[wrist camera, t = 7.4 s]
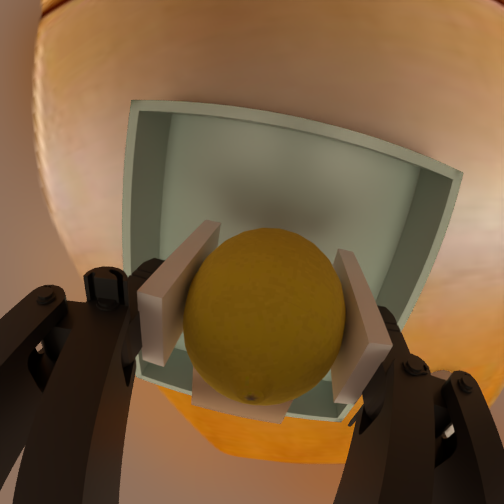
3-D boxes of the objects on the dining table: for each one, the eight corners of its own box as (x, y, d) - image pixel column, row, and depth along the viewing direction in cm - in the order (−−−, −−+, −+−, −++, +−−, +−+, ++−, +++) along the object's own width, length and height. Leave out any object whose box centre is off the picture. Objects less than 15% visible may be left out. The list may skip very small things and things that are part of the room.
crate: (168, 105, 17) (131, 100, 12) (426, 161, 16) (463, 172, 11) (157, 341, 26) (136, 376, 21) (337, 381, 25) (341, 422, 20)
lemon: (231, 314, 15) (186, 441, 8) (206, 215, 13) (110, 311, 6) (334, 304, 14) (355, 441, 7) (325, 198, 12) (372, 291, 5)
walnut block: (218, 291, 21) (194, 342, 16) (307, 311, 21) (308, 367, 16) (210, 354, 24) (191, 404, 19) (285, 370, 24) (280, 424, 18)
